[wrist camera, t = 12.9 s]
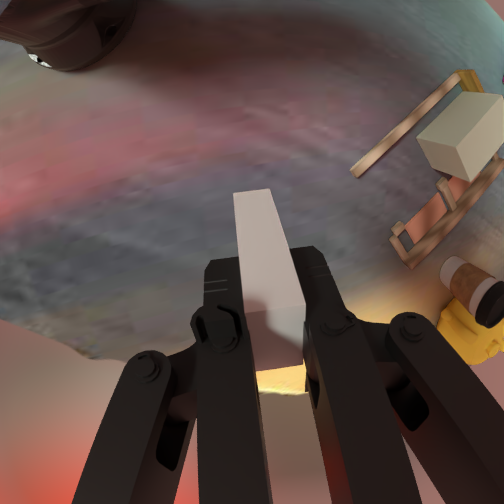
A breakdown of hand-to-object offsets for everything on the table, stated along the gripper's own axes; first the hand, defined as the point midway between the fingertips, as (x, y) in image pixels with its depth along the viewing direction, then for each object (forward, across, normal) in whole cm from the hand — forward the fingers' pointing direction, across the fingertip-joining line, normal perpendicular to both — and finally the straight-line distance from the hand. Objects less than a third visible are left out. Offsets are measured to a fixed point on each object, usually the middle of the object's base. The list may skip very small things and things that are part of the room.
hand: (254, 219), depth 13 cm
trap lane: (+27, +31, -10) cm, 42 cm away
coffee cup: (+24, +38, -30) cm, 54 cm away
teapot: (+23, +46, -44) cm, 67 cm away
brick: (+29, +34, -4) cm, 44 cm away
